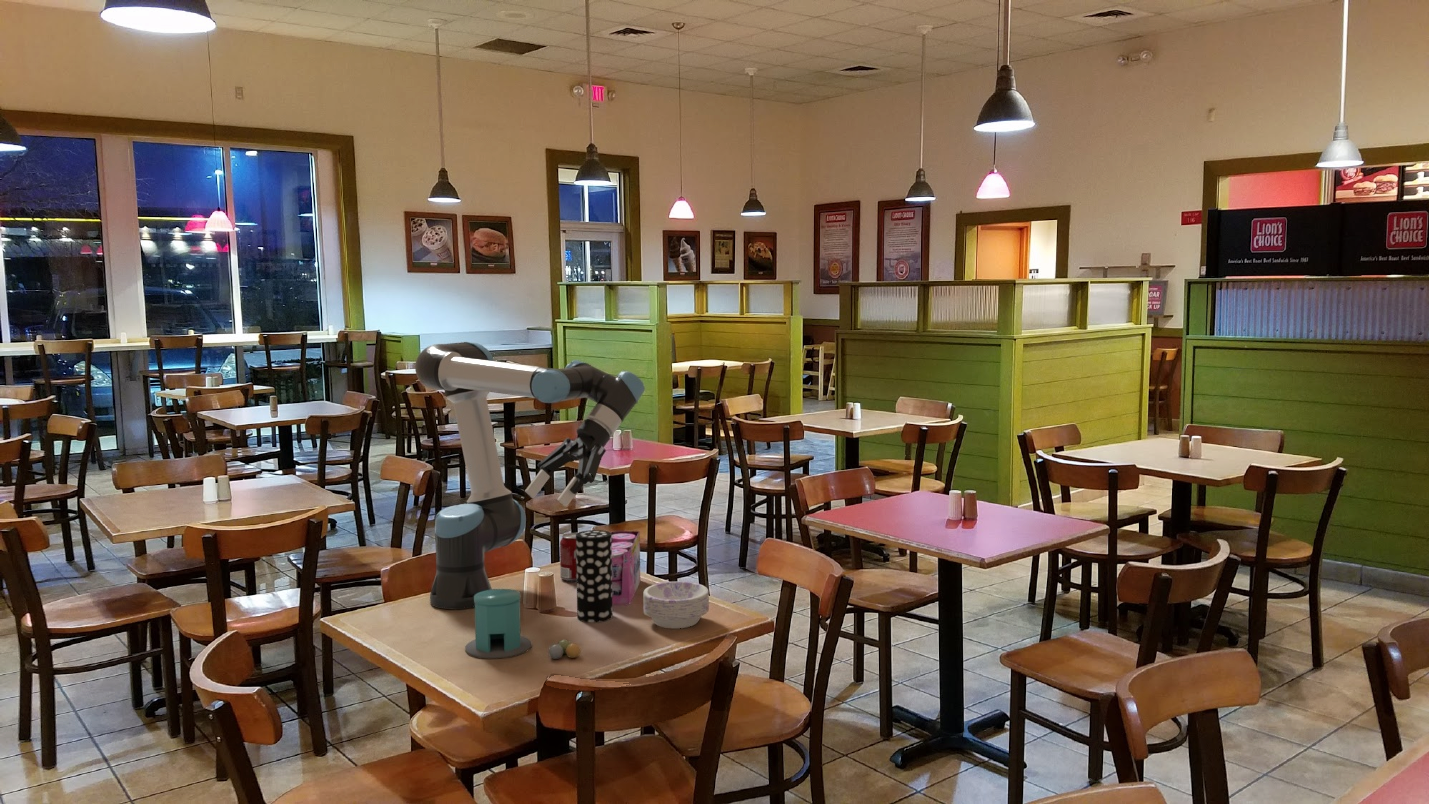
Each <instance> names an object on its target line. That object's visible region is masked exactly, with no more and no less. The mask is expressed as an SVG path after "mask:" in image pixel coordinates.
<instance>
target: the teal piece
mask: <svg viewBox="0 0 1429 804" xmlns="http://www.w3.org/2000/svg"><path fill="white" fill-rule="evenodd" d="M474 603H475V607H474V627H475V629H474V630H475V639H476V649H478V650H481V651H484V652H488V653H489V652H490V640H491V639H504V651H506V652H507V651H510V650H512V649H515V648H518V647H520V641H521V636H522V635H521V592H520V591H518V590H515V589H512V588H511V589H508V588H492V590H486V591H482V592H479V593H477V594H475V595H474Z"/></svg>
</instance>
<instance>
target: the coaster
mask: <svg viewBox="0 0 1429 804" xmlns="http://www.w3.org/2000/svg"><path fill="white" fill-rule="evenodd" d="M464 647H465V648H464V650H465V653H466V654H467V655H468V656H470V657H473V658H477V659H483V660H501V659H507V658H512V657H517V656H520V655H522V654H525V653H526V651H527V650H528V651H529V650H530V649H531V648H532V641H531V639H530V638H527V637H525V636H522V635H521V641H520V647H518V648H515V649H512V650H510V651H507V652H506V651H504V639H491V640H490V652H489V653H488V652H484V651H481V650H478V649H476V638H475V639H473V640H471V641H469V642H468V643H466V645H465V646H464ZM528 651H527V652H528ZM524 652H525V653H524ZM519 654H520V655H519Z"/></svg>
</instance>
